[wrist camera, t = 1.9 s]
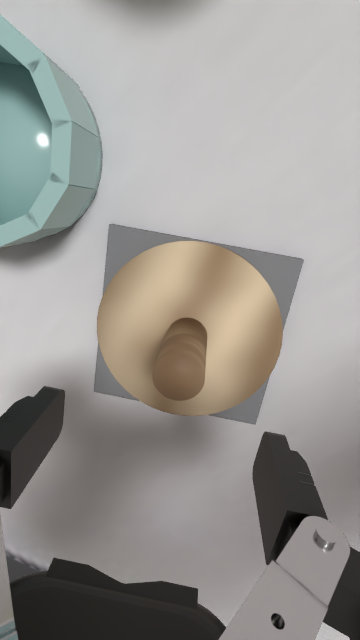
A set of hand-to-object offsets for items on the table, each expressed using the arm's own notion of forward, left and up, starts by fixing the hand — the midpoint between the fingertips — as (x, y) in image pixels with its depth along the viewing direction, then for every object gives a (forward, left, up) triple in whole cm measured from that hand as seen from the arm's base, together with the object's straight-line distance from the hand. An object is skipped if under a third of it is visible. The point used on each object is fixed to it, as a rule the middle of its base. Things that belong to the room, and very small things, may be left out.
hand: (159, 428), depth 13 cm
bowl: (+13, -10, -12) cm, 20 cm away
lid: (0, 0, -11) cm, 11 cm away
